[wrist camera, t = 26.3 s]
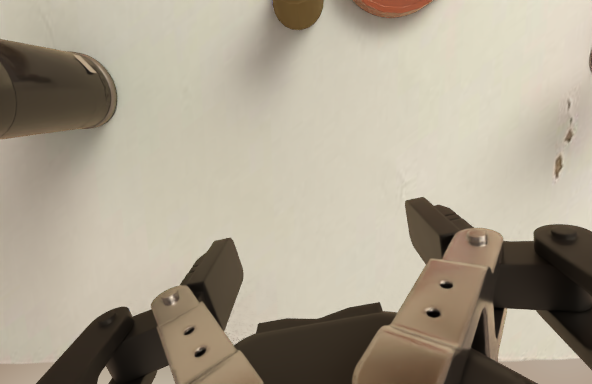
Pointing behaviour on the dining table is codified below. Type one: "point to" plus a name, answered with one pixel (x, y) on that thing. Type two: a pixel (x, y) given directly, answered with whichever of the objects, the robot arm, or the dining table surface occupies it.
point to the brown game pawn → (297, 12)
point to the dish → (392, 7)
